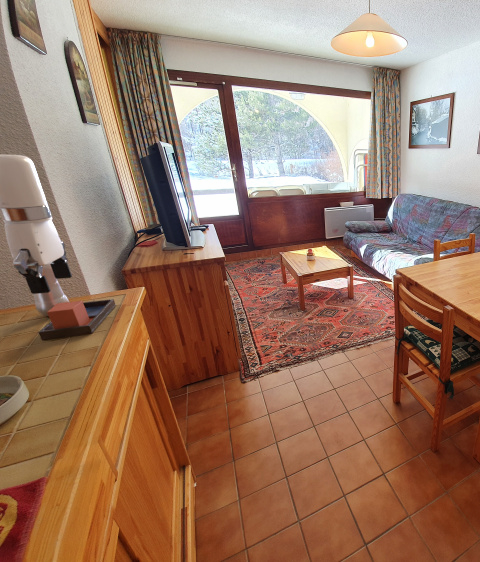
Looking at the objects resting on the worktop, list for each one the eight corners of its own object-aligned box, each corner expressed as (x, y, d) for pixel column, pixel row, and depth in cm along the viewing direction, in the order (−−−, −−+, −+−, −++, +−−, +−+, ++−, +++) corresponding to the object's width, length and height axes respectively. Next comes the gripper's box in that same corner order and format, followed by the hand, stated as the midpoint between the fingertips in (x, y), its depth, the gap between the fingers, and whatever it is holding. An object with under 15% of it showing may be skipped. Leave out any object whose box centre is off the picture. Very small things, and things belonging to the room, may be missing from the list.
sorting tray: (41, 340, 75) (37, 332, 74) (74, 311, 89) (71, 303, 88) (92, 333, 79) (89, 325, 78) (116, 306, 92) (113, 298, 91)
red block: (56, 333, 77) (46, 312, 75) (66, 323, 81) (57, 303, 79) (81, 329, 79) (72, 309, 76) (90, 320, 83) (82, 300, 81)
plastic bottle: (34, 316, 86) (2, 247, 78) (63, 306, 92) (36, 240, 84) (49, 320, 84) (17, 250, 76) (78, 309, 90) (51, 243, 82)
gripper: (29, 208, 75) (53, 274, 81) (-27, 222, 60) (8, 301, 66) (68, 208, 78) (88, 271, 84) (24, 220, 63) (53, 297, 69)
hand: (53, 284), depth 75 cm, fingers open, 9 cm apart
